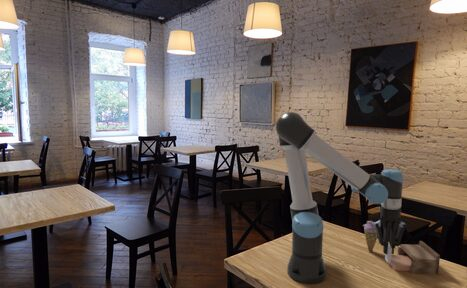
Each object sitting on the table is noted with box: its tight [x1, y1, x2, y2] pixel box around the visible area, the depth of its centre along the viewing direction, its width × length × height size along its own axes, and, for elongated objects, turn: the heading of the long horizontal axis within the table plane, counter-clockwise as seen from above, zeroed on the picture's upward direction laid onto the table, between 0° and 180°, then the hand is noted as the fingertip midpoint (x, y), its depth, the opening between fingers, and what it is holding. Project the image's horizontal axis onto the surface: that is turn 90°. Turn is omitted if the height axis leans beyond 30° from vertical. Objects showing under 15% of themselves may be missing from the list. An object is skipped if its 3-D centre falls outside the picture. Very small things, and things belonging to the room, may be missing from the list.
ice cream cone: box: [362, 220, 378, 253], centre depth 141 cm, size 7×6×15 cm
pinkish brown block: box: [388, 254, 413, 272], centre depth 128 cm, size 12×9×2 cm
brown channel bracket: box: [396, 240, 441, 276], centre depth 128 cm, size 10×13×8 cm
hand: (388, 261), depth 129 cm, fingers closed
